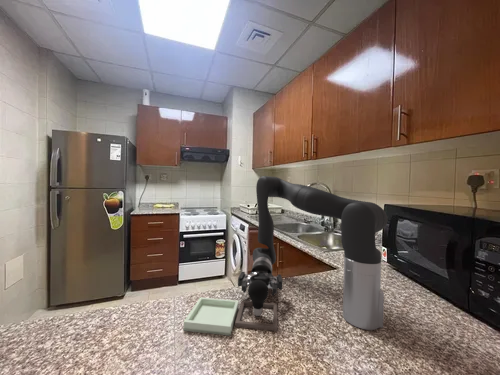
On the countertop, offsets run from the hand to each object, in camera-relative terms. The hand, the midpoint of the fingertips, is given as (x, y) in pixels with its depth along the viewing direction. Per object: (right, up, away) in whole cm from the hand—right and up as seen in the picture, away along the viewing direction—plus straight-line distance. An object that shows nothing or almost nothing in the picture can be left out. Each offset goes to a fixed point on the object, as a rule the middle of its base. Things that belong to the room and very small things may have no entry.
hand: (258, 291), depth 61 cm
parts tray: (-13, -6, -4) cm, 14 cm away
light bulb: (0, -6, -2) cm, 7 cm away
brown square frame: (0, -6, -2) cm, 6 cm away
